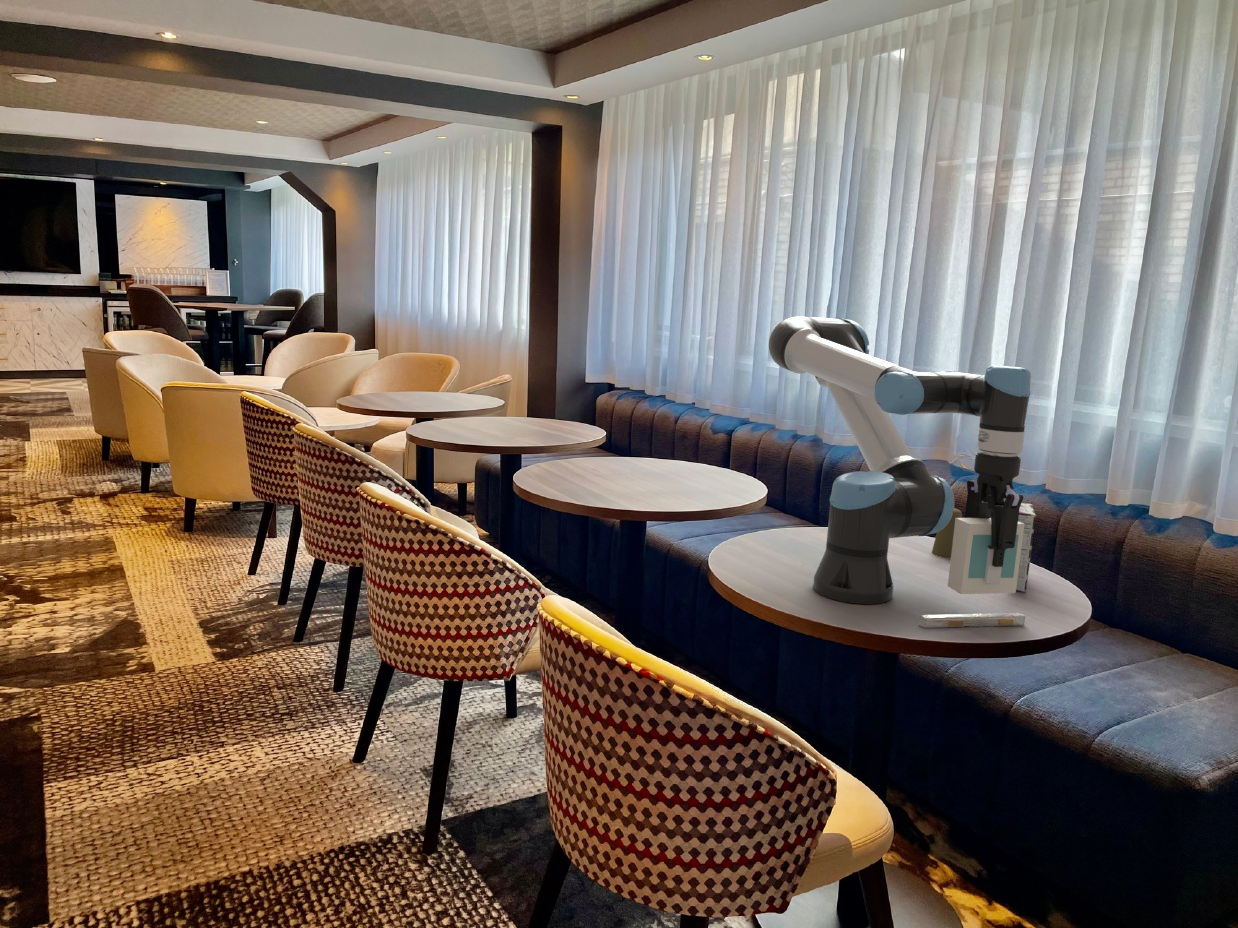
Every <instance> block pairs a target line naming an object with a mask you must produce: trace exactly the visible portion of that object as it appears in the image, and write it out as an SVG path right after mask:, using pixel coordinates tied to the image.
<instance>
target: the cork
mask: <svg viewBox="0 0 1238 928" xmlns="http://www.w3.org/2000/svg"><path fill="white" fill-rule="evenodd" d="M952 513H953V514H952V517H951V520H950V521H949V523H948V524H947V526H946V527H945V528H944V529H942V530H941V531H939V532H937V533H935V534H936V535H935V538H934V543H933V546H932V549H931V554H932V553H933V554H932V555H935V556H936V555H937V557H940V556H941V557H942V558H947V559H951V553H952V544H953V535H954V527H955V518H963V514H962V511H961V510H960V509H959V508H956V507H954V509H953V511H952ZM941 557H940V558H941Z"/></svg>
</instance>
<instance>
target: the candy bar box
mask: <svg viewBox="0 0 1238 928" xmlns="http://www.w3.org/2000/svg"><path fill="white" fill-rule="evenodd" d="M1036 517H1037V515H1036V512H1035V509H1034V505H1033V503H1032V504H1031V503H1024V502H1022V503H1021V506H1020V509H1019V517H1018V522H1021V523H1024V524H1025V525H1024V532H1023V540H1022V548H1021V556H1020V563H1019V571H1018V579H1017V587H1016V592H1022V593H1026V592H1027V585H1028V578H1029V572H1030V564H1031V557H1032V549H1033V540H1034V532H1035V523H1036Z"/></svg>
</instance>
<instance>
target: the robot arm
mask: <svg viewBox="0 0 1238 928" xmlns="http://www.w3.org/2000/svg"><path fill="white" fill-rule="evenodd" d="M869 345H870V341H869V336H868V334H867V332H866V331H865V329H864V328H863V327H862V325H861V324H859V323H857V322H856V321H854V320H852V319H846V318H843V317H830V318H829V317H827V318H826V317H815V316H812V317H811V316H800V315H799V316H792V317H789V318H786V319H783V320H781V321H780V322H779V323H778V324H777V325H775V327H774V329H773V330H772V331H771V333H770V336H769V339H768V351H769V354H770V357H771V359H772V360H773V361H774V363H775V364H776V365H778V366H779V367H781V368H782V369H785V370H788V371H789V372H792V373H795V374H798V375H799V374H805V373H808V374H809V375H812V376H813V377H815V379H816V381H817V383H818V385H819V386H820V387H823V388H827V389H829V391H830V393H831V395H832V398H833V399H834V401H835V404H836V405H837V408H838V409H839V411H840V413H841V415H842V417H843V419H844V421H845V423H846V425H847V427H848V430H849V431H850V433H851V435H852V437H853V439H854V441H855V443H856V444H857V447H858V449H859V451H860V453H861V454H862V457H863V459H864V461H865V463H866V465H867V466H868V469H869V471H861V470H859V471H850V472H847V473H843V474H841V475H839V476H837V477H836V478H835V479H834V481H833V483H832V489H831V494H830V496H829V512H828V513H829V514H828V524H827V535H826V544H825V546H826V547H825V550H824V551H825V552H824V553H823V556H822V558H821V560H820V562H819V564H818V567H817V569H816V571H815V573H814V576H813V584H812V588H813V590H814V591H815V592H816V593H817V594H819V595H821V596H824V597H826V598H828V599H831V600H835V601H840V602H845V603H852V604H857V605H858V604H860V605H877V604H883V603H886V602H890V601H891V600H892V599H893V593H894V583H893V579H892V573H891V571H890V566H889V560H888V552H889V546H890V545H889V544H890V543H889V542H890V539H896V538H908V537H925V536H928V535H931V534H937V532H939V531H941V530H942V529H944V528H945V527H946V526H947V524H948V523H949V521H950V520H951V517H952V514H953V513H952V511H953V509H954V508H955V495H954V492H953V489H952V487H951V485H950V483H949V482H948V481H947V480H945V479H944V478H943V477H940V476H937V475H931V474H930V471H929V470H928V468H927V466H926V465H925V463H924V461H923V460H922V459H919V458H916V457H915V458H914V457H912V455H911V453H910V451H909V449H908V447H907V445H906V443H905V442H904V440H903V438H902V436H901V434H900V432H899V430H898V429H897V427H896V425H895V423H894V420H893V419H892V417H891V415H890V414H895V415H899V416H900V415H901V416H902V415H903V416H904V415H921V414H959V415H960V414H961V415H968V416H969V415H970V416H975V417H979V424H978V425H979V426H978V427H979V429H978V435H977V445H976V448H977V449H978V450H979V451H977V452H976V453H975V459H974V464H973V465H974V467H973V470H974V472H975V473H976V474H978V477H977V478H976V479H975V480H967V482H966V490H967V491H966V492H967V495H966V496H967V497H966V502H965V503H966V504H965V513H964V518H991V535H992V546H988V553H987V561H986V569H985V577H984V583H986V584H987V583H1000V577H1001V569H1002V566H1003V561H1004V554H1005V550H1006V549H1008V548H1014V546H1015V539H1016V532H1017V524H1018V517H1019V509H1020V506H1021V503H1023V501H1024V495H1023V494H1020V493H1019V494H1018V493H1016V492H1015V491H1014V484H1013V481H1014V480H1013V479H1014V478H1017V477H1018V476H1019V475H1020V468H1021V461H1022V458H1021V456H1020V454H1022V452H1023V448H1024V440H1025V438H1024V437H1025V427H1026V426H1025V424H1026V420H1027V419H1026V418H1027V413H1028V407H1029V400H1030V395H1031V380H1032V379H1031V377H1032V376H1031V375H1032V374H1031V371H1030V370H1029V369H1028V368H1026V367H1021V366H1007V365H989V366H988V367H986V370H985V374H982V375H981V374H973V373H966V372H960V371H955V370H953V371H950V370H945V371H942V370H941V371H938V372H935V371H933V372H932V371H931V372H928V371H927V372H925V371H921V372H920V371H914V370H911V369H908V368H905V367H903V366H900V365H898V364H894V363H892V362H889V361H887V360H883V359H881V358H879V357H875V356H872V355H869V354H870V349H869V348H868V346H869ZM998 541H999V542H998Z"/></svg>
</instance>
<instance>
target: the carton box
mask: <svg viewBox="0 0 1238 928" xmlns="http://www.w3.org/2000/svg"><path fill="white" fill-rule="evenodd" d="M1024 525H1025V524H1024V523H1021V522H1018V524H1017V532H1016V539H1015V546H1014V548H1008V549H1006V550H1005V554H1004V561H1003V566H1002V569H1001V577H1000V583H987V584H986V583H984V577H985V569H986V561H987V553H988V546H992V535H991V517H989V518H965V517H962V518H955V527H954V535H953V544H952V553H951V558H950V561H949V571H948V579H947V580H948V581H947V587H948V588H950V589H951V590H953V591H956V592H957V593H959V594H961V595H975V594H977V595H978V594H979V595H980V594H981V595H982V594H983V595H984V594H985V595H987V594H1016V592H1017V591H1016V587H1017V579H1018V571H1019V563H1020V556H1021V548H1022V540H1023V532H1024ZM998 542H999V541H998Z"/></svg>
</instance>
